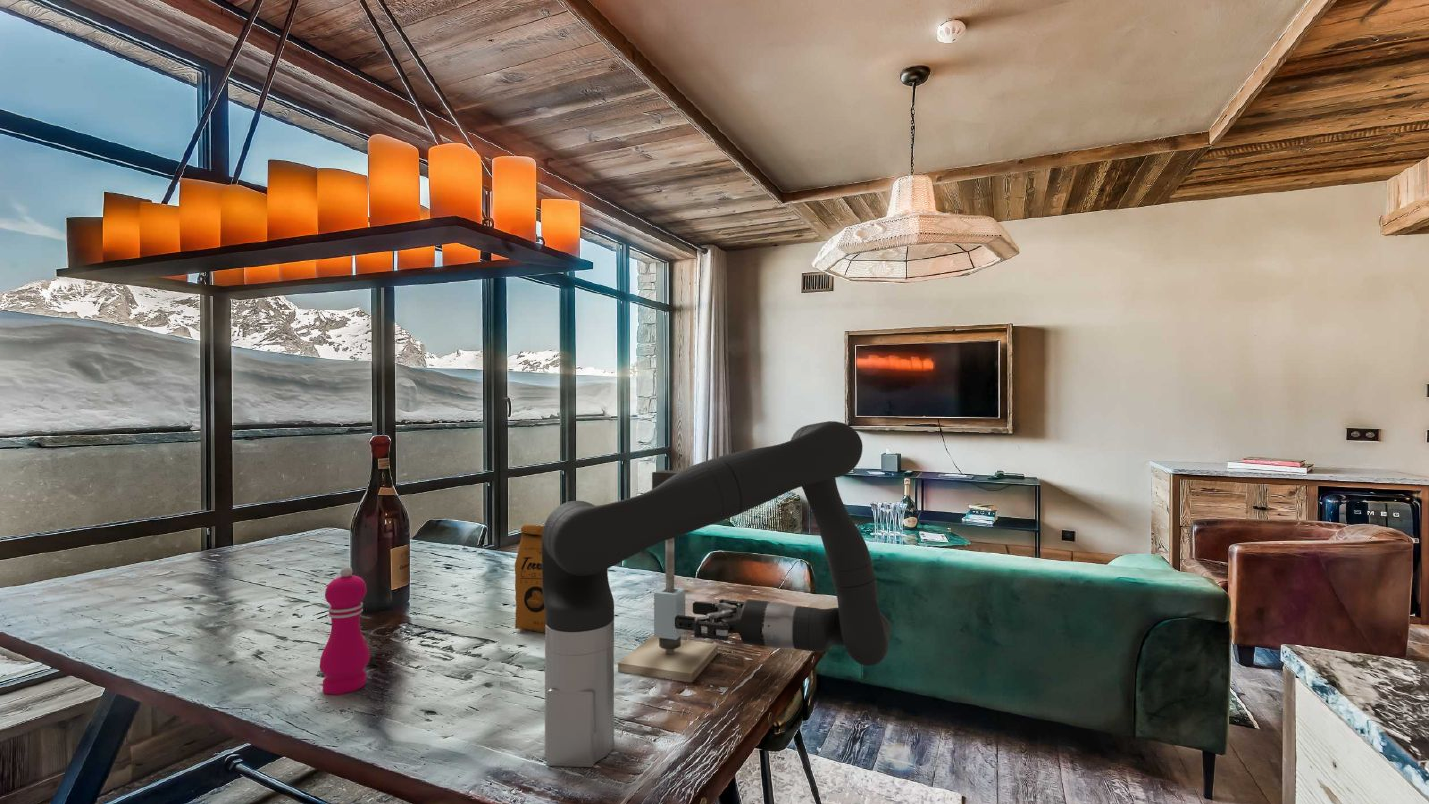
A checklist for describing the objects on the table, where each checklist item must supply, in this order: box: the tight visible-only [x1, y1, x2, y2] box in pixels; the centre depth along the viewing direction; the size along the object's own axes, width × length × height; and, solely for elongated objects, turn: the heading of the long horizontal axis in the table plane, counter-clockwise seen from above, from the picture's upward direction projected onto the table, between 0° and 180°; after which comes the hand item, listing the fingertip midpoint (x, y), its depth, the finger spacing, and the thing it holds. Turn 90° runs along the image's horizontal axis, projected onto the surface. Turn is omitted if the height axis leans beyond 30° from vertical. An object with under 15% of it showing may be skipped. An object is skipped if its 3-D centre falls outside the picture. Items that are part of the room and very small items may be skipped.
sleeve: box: [653, 586, 686, 640], centre depth 112 cm, size 4×4×8 cm
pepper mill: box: [319, 566, 371, 695], centre depth 102 cm, size 7×7×20 cm
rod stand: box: [617, 469, 719, 683], centre depth 112 cm, size 14×14×35 cm
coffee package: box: [514, 524, 546, 634], centre depth 130 cm, size 10×12×22 cm
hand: (684, 614), depth 111 cm, fingers open, 8 cm apart
